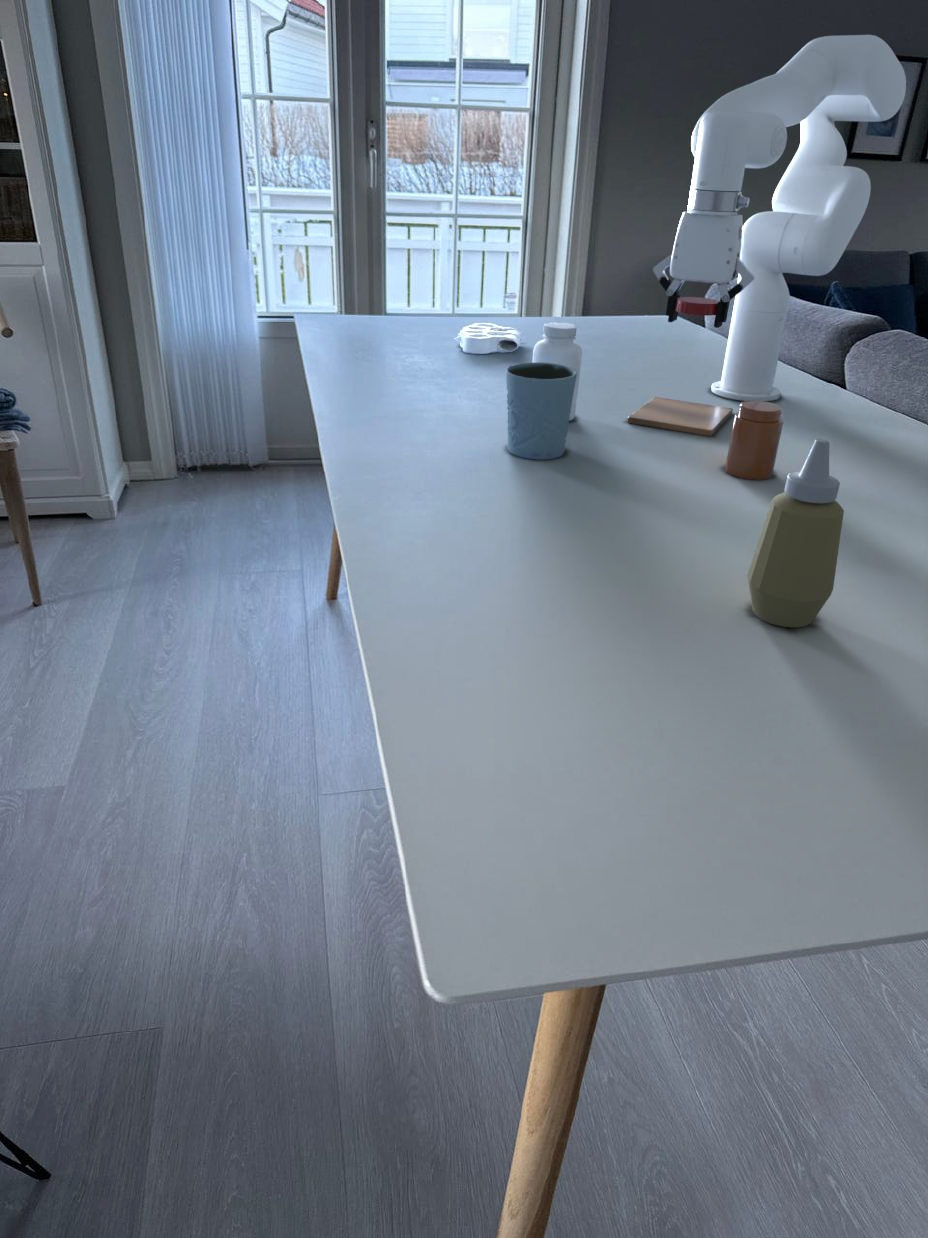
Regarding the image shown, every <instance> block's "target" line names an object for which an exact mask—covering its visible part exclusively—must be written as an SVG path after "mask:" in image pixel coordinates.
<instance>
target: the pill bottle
mask: <svg viewBox="0 0 928 1238" xmlns="http://www.w3.org/2000/svg"><path fill="white" fill-rule="evenodd" d="M577 328H578V327H577V326H576V325H575V324H573V323H568V322H560V321H559V322H557V321H554V322H546V323H544V324H543V328H542V337H543V339H541V340H539V341H537V342H536V343H535V345H534V347H533V351H532V362H531V363H552V364H558V365H563V366H567V367H570V368H572V369H574V370H575V371H576V372H577V377H576V382H575V388H574V394H573V399H572V406H571V413H570V416H569V418H570V419H569V422H570V421H573V420H574V418H575V417H576V412H577V403H578V393H579V383H580V374H581V367H582V357H583V352H582V347H581V345H579V344H578V343H577V342H575V340H576V336H577Z"/></svg>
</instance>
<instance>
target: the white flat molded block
mask: <svg viewBox="0 0 928 1238" xmlns="http://www.w3.org/2000/svg"><path fill="white" fill-rule="evenodd" d="M457 335H458V336H457V337H454V338H453V340H455V341H456V342H457V343H459V346H460V348H462V351H463V352H464V353H465V354H466V353H467V354H472V355H485V354H491V353H512V352H514V351H517V350H518V349H519V346H520V344H521V342H522V340H523V339H524V333H523V332H522V331H520V330H519V329H517V328H513V327H506V326H505V327H504V326H499V325H497V324H494V323H487V322H485V323H484V322H479V323H473V324H471V325H468V326H467V325H466V326H464V327H462V329H461V330H460V332H459V333H457Z"/></svg>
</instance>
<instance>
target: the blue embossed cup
mask: <svg viewBox="0 0 928 1238" xmlns="http://www.w3.org/2000/svg"><path fill="white" fill-rule="evenodd" d="M576 377H577V372H576V371H575V370H574V369H572V368H570V367H567V366H563V365H558V364H552V363H532V362H522V363H521V362H520V363H516V364H512V365H510V366H508V367H506V369H505V383H506V384H505V385H506V390H507V393H506V404H507V407H506V409H507V428H506V429H507V449H508V450H507V451H509V453H510V454H512V455H513V456H515V457H519V458H524V459H529V460H552V459H553V460H554V459H557V458H560V457H562V456H563V455H564V454H565V451H566V445H567V439H566V438H567V436H568V430H569V426H570V424H569V422H570V421H569V419H570V418H569V416H570V413H571V406H572V399H573V394H574V388H575V382H576Z"/></svg>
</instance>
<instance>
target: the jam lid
mask: <svg viewBox="0 0 928 1238" xmlns="http://www.w3.org/2000/svg"><path fill="white" fill-rule="evenodd" d="M719 301H720V300H719V299H714V298H707V297H699V296H680V298H677V300H676V304H675V311H676V312H678V314H679V313H680V314H684V315H688V316H689V315H691V316H700V317H701V316H704V317H705V316H707V317H708V316H709V317H711V316H715V315H716V309H717V303H718V302H719Z"/></svg>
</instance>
